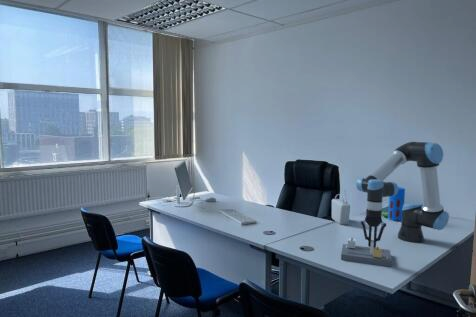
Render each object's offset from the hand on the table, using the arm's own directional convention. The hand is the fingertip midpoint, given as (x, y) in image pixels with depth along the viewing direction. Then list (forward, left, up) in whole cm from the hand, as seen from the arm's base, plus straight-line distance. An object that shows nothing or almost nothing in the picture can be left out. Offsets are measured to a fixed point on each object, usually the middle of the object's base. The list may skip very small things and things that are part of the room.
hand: (371, 252), depth 186 cm
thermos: (-20, -102, -5) cm, 104 cm away
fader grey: (+10, -10, -1) cm, 14 cm away
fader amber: (-3, 0, -1) cm, 3 cm away
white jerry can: (+20, -77, -5) cm, 80 cm away
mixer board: (+3, -5, -5) cm, 7 cm away
